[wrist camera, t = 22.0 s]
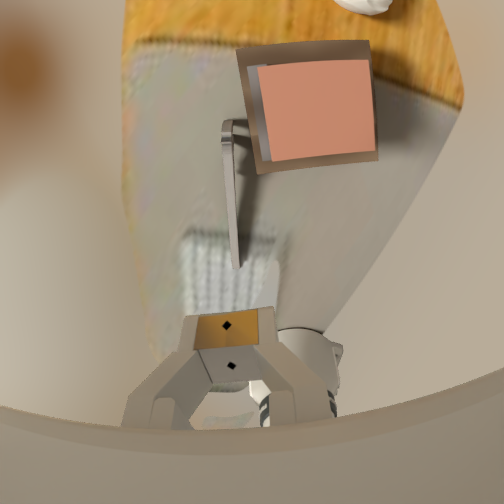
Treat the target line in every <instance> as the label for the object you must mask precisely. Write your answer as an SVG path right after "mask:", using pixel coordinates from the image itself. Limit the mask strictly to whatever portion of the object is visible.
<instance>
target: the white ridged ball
mask: <svg viewBox="0 0 504 504" xmlns="http://www.w3.org/2000/svg"><path fill="white" fill-rule="evenodd" d="M334 1H335V2H336V3H337V4H339V5H340V6H341V7H343V8H345V9H347V10H349V11H351V12H354V13H359V14H366V15H375V14H379V13H382V12H385V11H387V10H388V8H389V7H388V6H389V5H390V4H391V3H392V1H393V0H334Z"/></svg>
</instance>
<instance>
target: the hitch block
mask: <svg viewBox="0 0 504 504" xmlns="http://www.w3.org/2000/svg"><path fill="white" fill-rule="evenodd" d="M236 55H237V61H238V66H239V72H240V78H241V83H242V89H243V95H244V100H245V106H246V112H247V118H248V124H249V129H250V135H251V141H252V147H253V153H254V159H255V165H256V171H257V175H258V174H265V173H272V172H279V171H287V170H295V169H303V168H311V167H320V166H329V165H338V164H348V163H359V162H370V161H378V136H377V116H376V101H375V89H374V78H373V69H372V60H371V52H370V44H369V40H324V41H305V42H292V43H281V44H272V45H263V46H256V47H249V48H242V49H236ZM330 60H368V61H369V70H370V79H371V90H372V102H373V116H374V135H375V151H364V152H352V153H341V154H331V155H322V156H313V157H305V158H297V159H289V160H281V161H274V162H272V159H271V152H270V145H269V139H268V132H267V126H266V119H265V113H264V106H263V100H262V94H261V88H260V82H259V76H258V70H257V67H262V66H270V65H279V64H288V63H299V62H312V61H330Z"/></svg>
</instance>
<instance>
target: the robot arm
mask: <svg viewBox="0 0 504 504" xmlns="http://www.w3.org/2000/svg"><path fill="white" fill-rule="evenodd" d="M342 354H343V346H342V345H341V344H338V343H335V342H331V341H329V340H328V339H327V338H325V337H324V336H323V335H321V334H319V333H317V332H315V331H312V330H307V329H287V330H282V331H277V324H276V318H275V311H274V307H273V306H269V307H262V308H256V309H248V310H241V311H232V312H223V313H212V314H200V315H190V316H186V317H185V318H184V320H183V325H182V329H181V334H180V339H179V344H178V349H177V352H172V353H171V354H170V355H169V356H168V357H167V358H166V359H165V360H164V361H163V362H162V363H161V364H160V365H159V366H158V367H157V368H156V369H155V370H154V371H153V372H152V373H151V374H150V375H149V376H148V377H147V378H146V379H145V380H144V381H143V382H142V383H141V384H140V385H139V386H138V387H137V388H136V389H135V390H134V391H133V392H132V393H131V394H130V395H129V396H128V400H127V404H126V408H125V412H124V415H123V420H122V423H121V427H118V426H108V425H100V424H92V423H85V422H78V421H71V420H65V419H60V418H54V417H49V416H44V415H39V414H35V413H30V412H26V411H22V410H17V409H13V408H9V407H6V406H2V405H0V504H504V368H501V369H499V370H497V371H494V372H492V373H489V374H487V375H484V376H482V377H479V378H477V379H474V380H472V381H469V382H466V383H463V384H461V385H458V386H455V387H452V388H449V389H447V390H443V391H440V392H437V393H434V394H431V395H428V396H424V397H421V398H417V399H414V400H411V401H407V402H403V403H399V404H395V405H392V406H387V407H383V408H379V409H375V410H371V411H366V412H361V413H356V414H351V415H346V416H341V417H337V411H336V410H337V407H336V403H335V399H334V396H335V395H337V389H338V388H339V385H340V379H339V373H338V364H339V361H340V359H341V356H342ZM239 381H249V385H250V395H251V397H253V398H254V400H255V401H256V402H257V403H258V404H259V405H260V406H259V408H260V409H259V410H260V412H259V419H260V425H261V427H256V428H242V429H221V430H195V429H194V428H193V427H192V425H191V424H190V422H189V421H188V420H189V419H190V417H191V416H192V414H193V413H194V411H195V410H196V409H197V407H198V406H199V404H200V403H201V402H202V400H203V399H204V397H205V396H206V395H207V393H208V392H209V390H210V389H211V387H212V386H213V384H218V383H229V382H239Z"/></svg>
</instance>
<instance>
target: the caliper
mask: <svg viewBox="0 0 504 504" xmlns="http://www.w3.org/2000/svg"><path fill="white" fill-rule="evenodd" d="M232 132H233V120H224V122H223V124H222V131H221V135H222V139H221V144H222V154H223V164H224V178H225V189H226V199H227V212H228V224H229V236H230V248H231V260H232V267H233V269H240V264H239V245H238V228H237V212H236V194H235V171H234V155H233V151H234V134H232Z"/></svg>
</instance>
